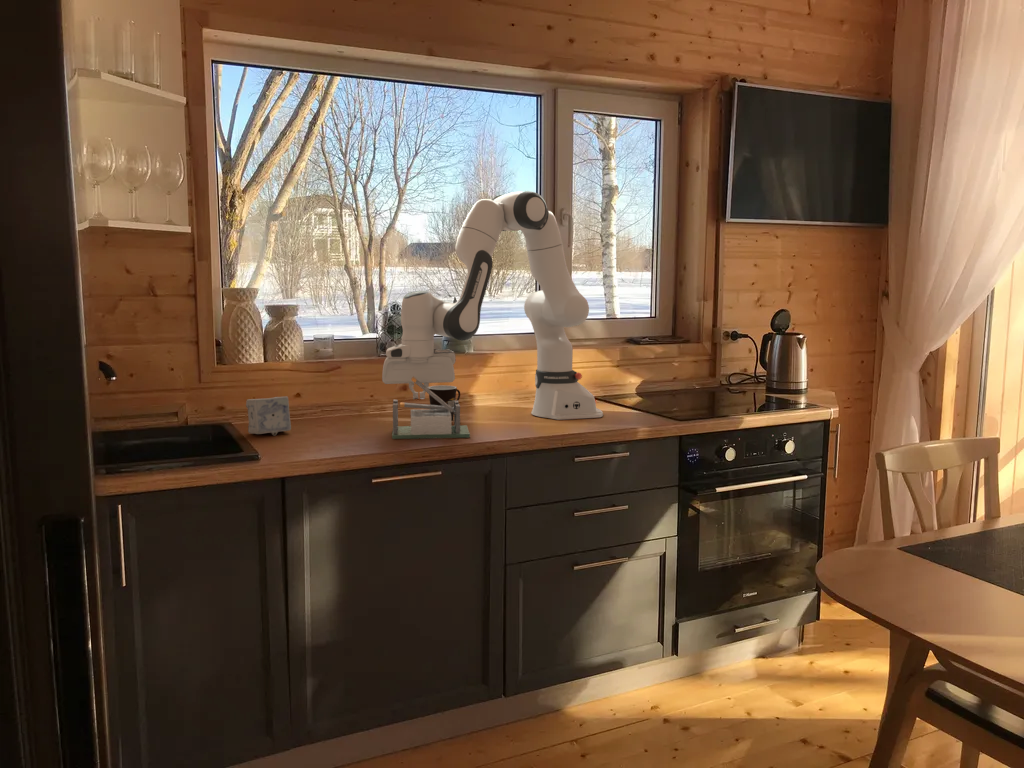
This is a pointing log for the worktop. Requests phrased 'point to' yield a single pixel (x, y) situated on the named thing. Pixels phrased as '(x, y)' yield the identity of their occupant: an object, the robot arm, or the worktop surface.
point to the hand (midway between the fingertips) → (419, 398)
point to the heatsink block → (430, 424)
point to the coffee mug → (444, 395)
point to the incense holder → (268, 415)
